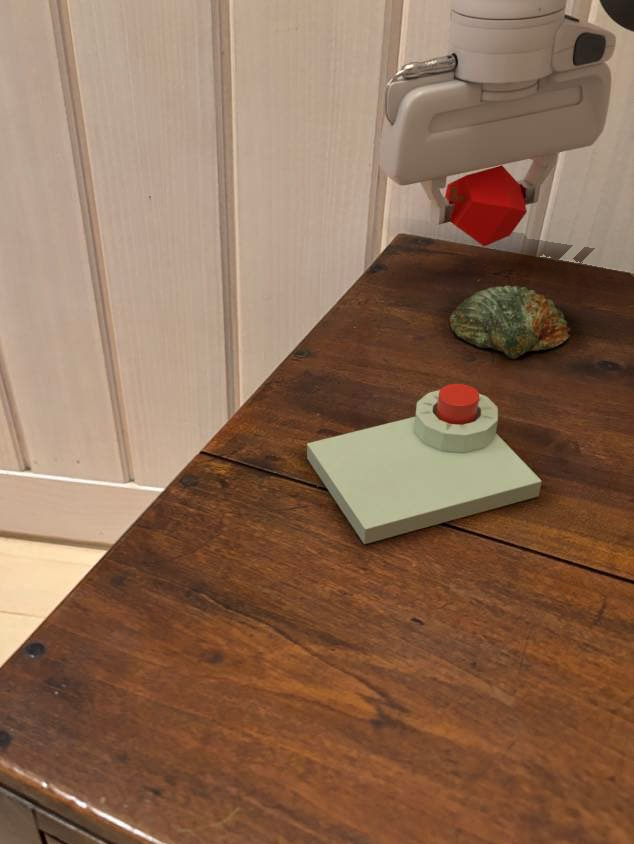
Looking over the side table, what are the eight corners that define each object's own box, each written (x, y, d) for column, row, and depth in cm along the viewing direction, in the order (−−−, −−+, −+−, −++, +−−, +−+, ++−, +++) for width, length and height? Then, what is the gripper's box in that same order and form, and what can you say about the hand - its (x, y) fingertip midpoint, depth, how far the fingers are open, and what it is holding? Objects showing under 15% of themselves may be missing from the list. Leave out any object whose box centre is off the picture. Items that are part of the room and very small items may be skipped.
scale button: (464, 400, 67) (467, 379, 66) (483, 420, 65) (487, 400, 64) (429, 408, 67) (431, 388, 65) (448, 429, 65) (450, 409, 63)
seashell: (574, 259, 79) (577, 318, 72) (568, 303, 82) (571, 363, 74) (453, 261, 81) (445, 318, 74) (452, 303, 84) (444, 362, 77)
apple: (520, 156, 85) (450, 139, 82) (554, 196, 81) (483, 180, 78) (481, 221, 90) (413, 208, 86) (512, 263, 86) (443, 251, 82)
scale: (467, 415, 70) (472, 381, 68) (543, 495, 63) (551, 460, 61) (304, 455, 68) (304, 422, 66) (364, 545, 60) (366, 510, 58)
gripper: (404, 78, 71) (395, 249, 80) (634, 34, 74) (601, 202, 84) (369, 57, 75) (365, 221, 84) (588, 16, 79) (561, 178, 88)
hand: (484, 211), depth 84 cm, fingers closed on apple, 7 cm apart
